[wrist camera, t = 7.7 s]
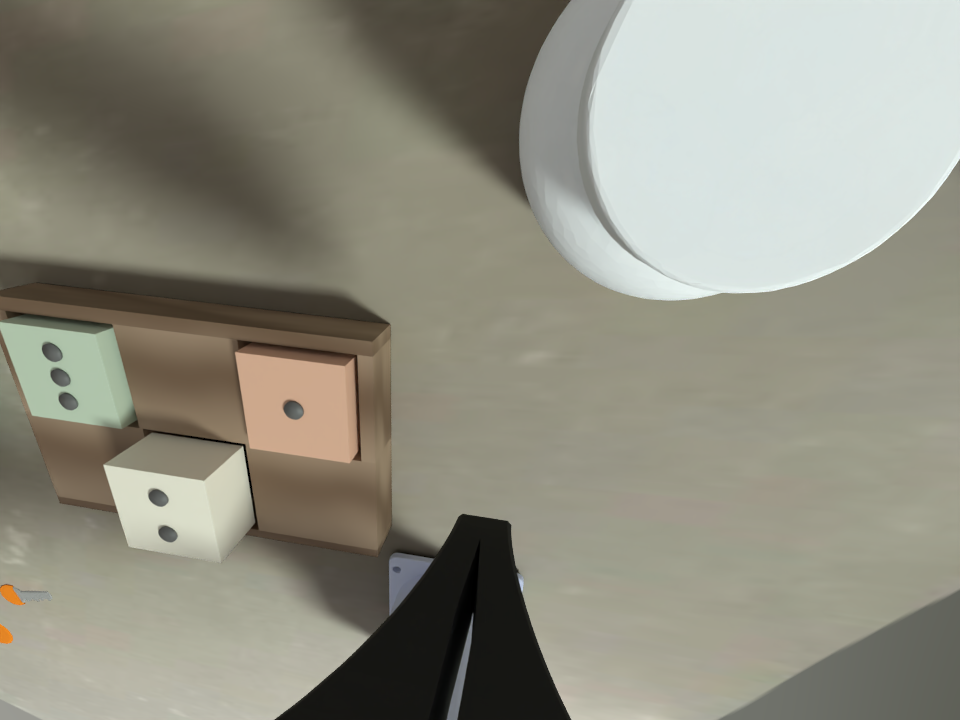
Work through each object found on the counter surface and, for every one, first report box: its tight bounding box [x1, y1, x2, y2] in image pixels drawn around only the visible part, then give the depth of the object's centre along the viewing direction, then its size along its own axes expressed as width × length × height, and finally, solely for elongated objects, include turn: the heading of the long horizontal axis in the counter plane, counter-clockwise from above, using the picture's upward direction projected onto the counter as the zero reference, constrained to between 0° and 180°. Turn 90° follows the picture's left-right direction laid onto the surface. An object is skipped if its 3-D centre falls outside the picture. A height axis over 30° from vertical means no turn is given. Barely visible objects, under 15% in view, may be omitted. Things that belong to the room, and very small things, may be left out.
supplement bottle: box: [519, 0, 960, 300], centre depth 11 cm, size 7×7×13 cm
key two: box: [103, 432, 255, 563], centre depth 23 cm, size 5×5×3 cm
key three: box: [0, 314, 137, 429], centre depth 23 cm, size 5×5×3 cm
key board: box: [0, 283, 392, 557], centre depth 24 cm, size 12×19×2 cm, turn 86°
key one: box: [235, 342, 361, 463], centre depth 22 cm, size 5×5×3 cm
